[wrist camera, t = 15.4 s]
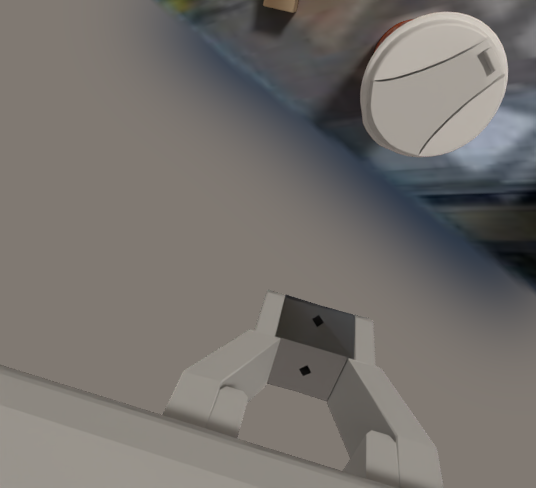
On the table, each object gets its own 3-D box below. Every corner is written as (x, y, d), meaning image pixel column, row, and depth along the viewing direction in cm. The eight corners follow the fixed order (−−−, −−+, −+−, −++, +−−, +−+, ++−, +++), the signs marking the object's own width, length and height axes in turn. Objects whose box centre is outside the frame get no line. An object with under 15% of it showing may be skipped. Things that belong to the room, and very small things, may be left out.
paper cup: (430, -21, 29) (476, -27, 18) (474, 68, 32) (539, 114, 20) (341, 49, 33) (331, 81, 21) (387, 124, 35) (400, 189, 24)
